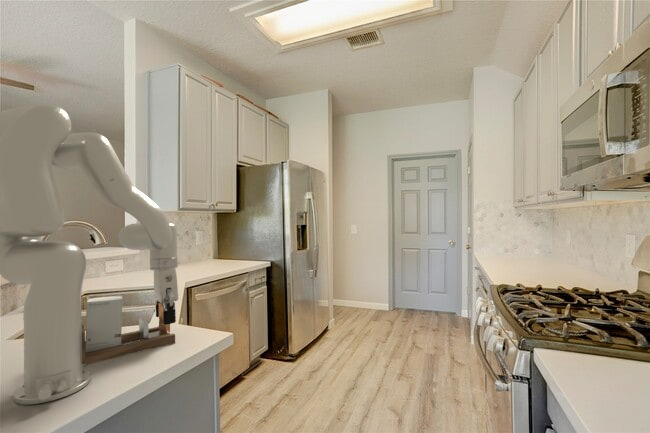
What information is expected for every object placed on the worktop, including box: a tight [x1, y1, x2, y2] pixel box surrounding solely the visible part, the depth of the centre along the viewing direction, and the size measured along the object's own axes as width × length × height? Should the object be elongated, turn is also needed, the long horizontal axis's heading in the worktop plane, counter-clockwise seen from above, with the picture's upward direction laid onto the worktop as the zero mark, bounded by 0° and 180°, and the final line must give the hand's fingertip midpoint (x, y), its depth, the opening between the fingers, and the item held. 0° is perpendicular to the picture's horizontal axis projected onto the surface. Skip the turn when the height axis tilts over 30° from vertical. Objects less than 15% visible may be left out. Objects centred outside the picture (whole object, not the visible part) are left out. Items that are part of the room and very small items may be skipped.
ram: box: [138, 303, 171, 341], centre depth 98 cm, size 7×8×11 cm
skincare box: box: [85, 295, 123, 353], centre depth 90 cm, size 8×6×15 cm
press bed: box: [82, 321, 176, 366], centre depth 92 cm, size 12×24×8 cm, turn 129°
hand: (165, 319), depth 99 cm, fingers open, 9 cm apart
